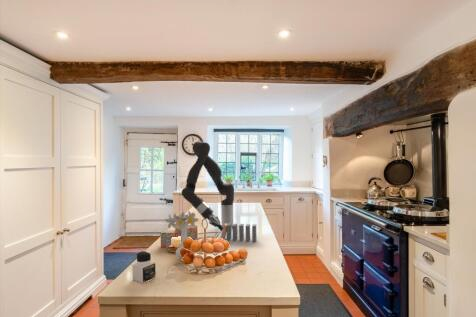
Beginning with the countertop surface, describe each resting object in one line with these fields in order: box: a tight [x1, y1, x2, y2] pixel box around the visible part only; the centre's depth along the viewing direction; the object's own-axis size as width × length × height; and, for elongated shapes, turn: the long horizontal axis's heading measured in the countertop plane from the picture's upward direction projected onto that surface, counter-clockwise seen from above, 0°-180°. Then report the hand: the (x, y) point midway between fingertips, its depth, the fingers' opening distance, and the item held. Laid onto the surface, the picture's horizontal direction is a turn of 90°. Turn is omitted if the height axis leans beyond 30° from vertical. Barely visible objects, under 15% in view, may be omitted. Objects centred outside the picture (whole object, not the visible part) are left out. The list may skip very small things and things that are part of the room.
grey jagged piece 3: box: [232, 223, 239, 242], centre depth 182 cm, size 2×5×10 cm, turn 168°
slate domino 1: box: [226, 223, 232, 242], centre depth 183 cm, size 2×5×10 cm, turn 168°
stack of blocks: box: [160, 224, 198, 249], centre depth 171 cm, size 21×6×12 cm, turn 86°
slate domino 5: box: [245, 223, 251, 243], centre depth 181 cm, size 2×5×10 cm, turn 168°
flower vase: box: [165, 211, 199, 261], centre depth 150 cm, size 13×18×25 cm
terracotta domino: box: [220, 223, 227, 240], centre depth 184 cm, size 2×5×10 cm, turn 169°
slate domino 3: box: [238, 223, 245, 242], centre depth 181 cm, size 2×5×10 cm, turn 168°
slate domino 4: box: [251, 223, 258, 243], centre depth 180 cm, size 2×5×10 cm, turn 168°
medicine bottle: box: [132, 250, 157, 284], centre depth 126 cm, size 7×7×12 cm
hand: (222, 229), depth 184 cm, fingers closed
